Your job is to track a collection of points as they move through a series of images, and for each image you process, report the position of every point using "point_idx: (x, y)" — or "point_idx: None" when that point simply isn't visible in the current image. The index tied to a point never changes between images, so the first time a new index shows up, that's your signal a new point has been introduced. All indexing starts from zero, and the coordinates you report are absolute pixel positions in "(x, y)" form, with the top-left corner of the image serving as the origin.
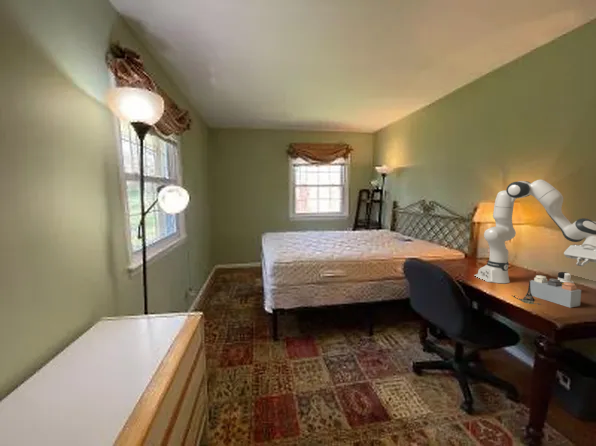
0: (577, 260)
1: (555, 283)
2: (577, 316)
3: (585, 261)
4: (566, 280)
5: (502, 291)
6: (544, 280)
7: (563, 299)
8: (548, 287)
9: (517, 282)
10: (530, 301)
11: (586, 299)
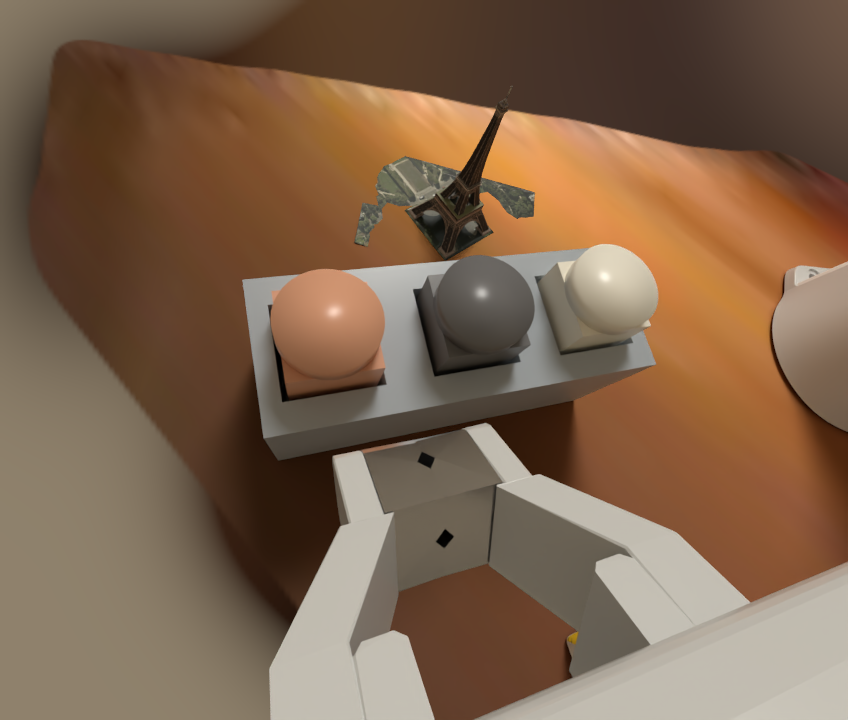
0: (576, 495)
1: (432, 278)
2: (105, 233)
3: (320, 579)
4: None
5: (609, 208)
6: (561, 302)
7: None
8: None
9: (817, 468)
10: (419, 204)
11: None
